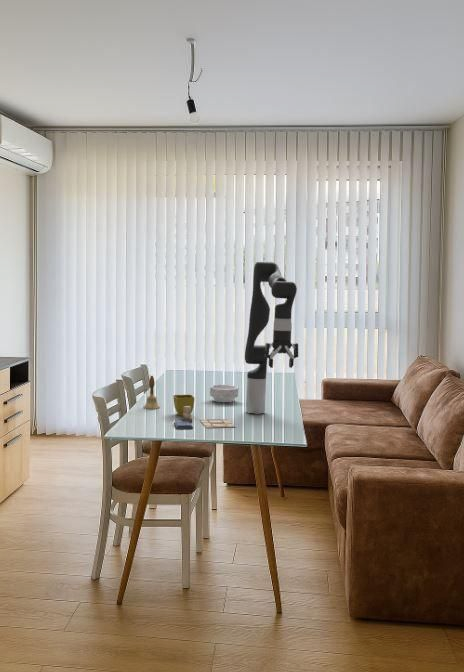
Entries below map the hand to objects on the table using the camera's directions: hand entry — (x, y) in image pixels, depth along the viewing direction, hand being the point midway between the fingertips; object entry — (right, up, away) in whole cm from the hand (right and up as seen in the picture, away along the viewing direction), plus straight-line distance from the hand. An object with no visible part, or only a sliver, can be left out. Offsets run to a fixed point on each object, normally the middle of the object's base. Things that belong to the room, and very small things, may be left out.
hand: (280, 367), depth 273 cm
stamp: (-41, -26, +19) cm, 52 cm away
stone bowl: (-25, -22, +73) cm, 80 cm away
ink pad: (-42, -26, +9) cm, 50 cm away
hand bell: (-61, -23, +50) cm, 82 cm away
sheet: (-27, -26, +17) cm, 41 cm away
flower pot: (-44, -24, +35) cm, 61 cm away
